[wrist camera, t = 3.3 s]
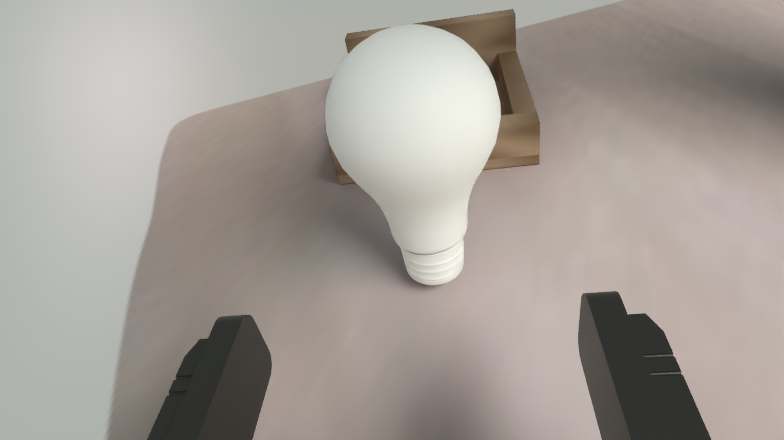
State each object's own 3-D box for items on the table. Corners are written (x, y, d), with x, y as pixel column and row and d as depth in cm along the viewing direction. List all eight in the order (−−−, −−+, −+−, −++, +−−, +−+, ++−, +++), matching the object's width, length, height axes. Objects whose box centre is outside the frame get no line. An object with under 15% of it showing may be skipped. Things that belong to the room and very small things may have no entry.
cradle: (514, 79, 38) (512, 9, 35) (539, 163, 29) (540, 78, 26) (361, 99, 39) (347, 33, 36) (339, 184, 30) (318, 106, 27)
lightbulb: (368, 243, 26) (312, 18, 19) (491, 224, 25) (477, -13, 19) (370, 341, 21) (294, 85, 14) (522, 319, 20) (518, 45, 14)
